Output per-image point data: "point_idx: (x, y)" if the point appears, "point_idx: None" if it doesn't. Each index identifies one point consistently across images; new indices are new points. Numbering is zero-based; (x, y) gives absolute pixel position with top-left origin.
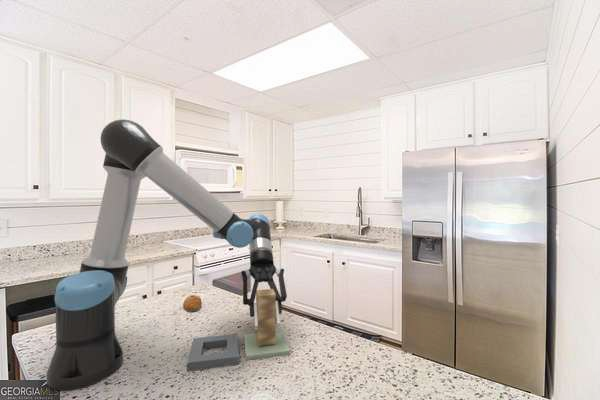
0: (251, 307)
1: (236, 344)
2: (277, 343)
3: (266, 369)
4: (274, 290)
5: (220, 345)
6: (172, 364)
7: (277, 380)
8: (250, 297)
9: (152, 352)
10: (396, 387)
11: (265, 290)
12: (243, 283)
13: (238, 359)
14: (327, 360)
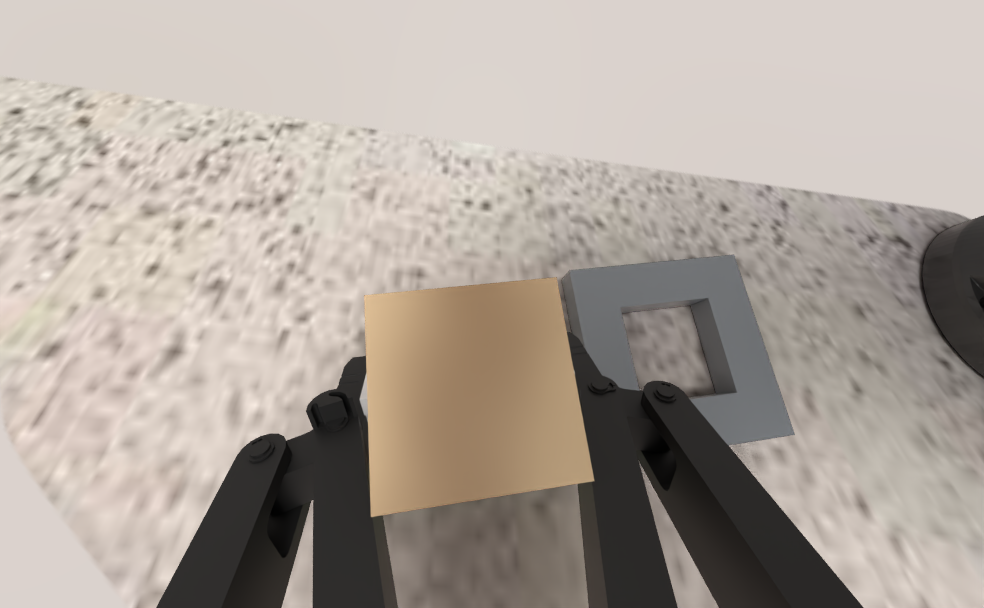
0: (581, 364)
1: (593, 357)
2: None
3: (465, 241)
4: (357, 507)
5: None
6: (777, 306)
7: (433, 187)
8: (624, 412)
9: (890, 391)
10: (85, 112)
11: (476, 459)
12: (842, 586)
13: (566, 275)
14: (238, 262)
